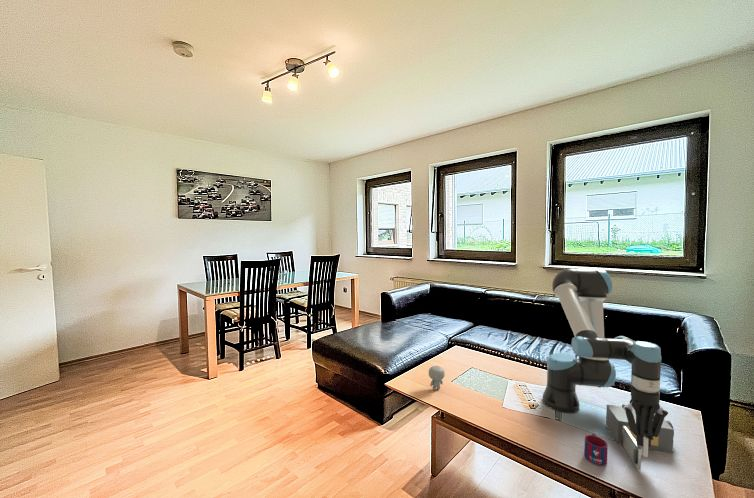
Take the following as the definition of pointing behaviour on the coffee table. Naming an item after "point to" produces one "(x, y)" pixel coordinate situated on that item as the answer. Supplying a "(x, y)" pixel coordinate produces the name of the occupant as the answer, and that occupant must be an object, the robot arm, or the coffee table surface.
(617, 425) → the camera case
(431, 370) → the figurine
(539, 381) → the coffee table surface
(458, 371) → the coffee table surface
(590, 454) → the mug
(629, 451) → the side door
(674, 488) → the coffee table surface
